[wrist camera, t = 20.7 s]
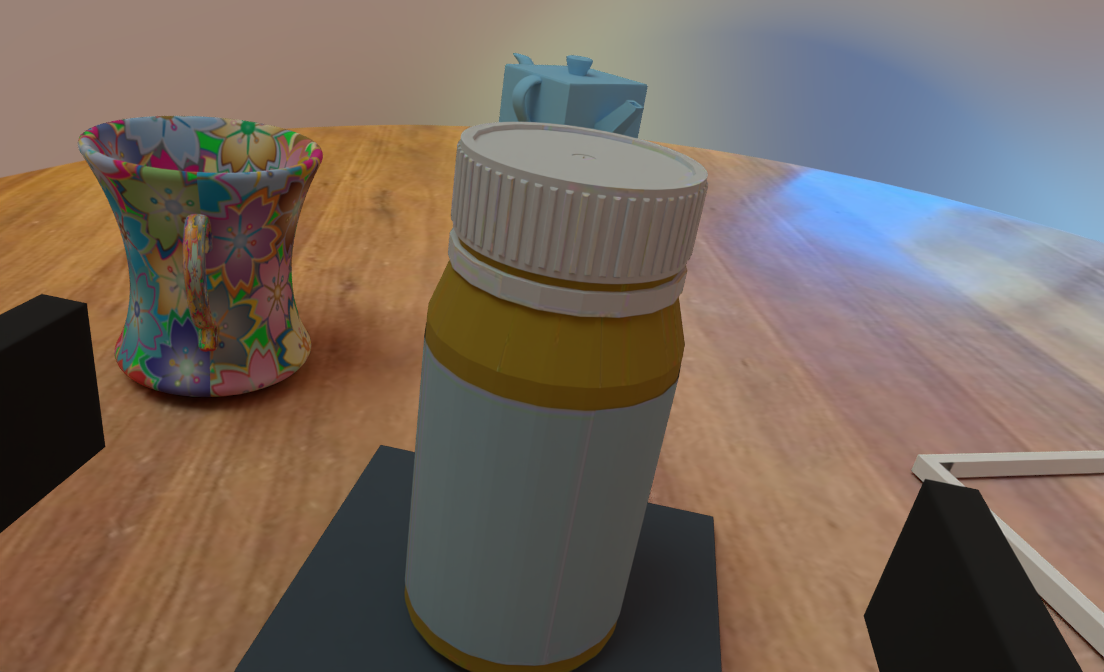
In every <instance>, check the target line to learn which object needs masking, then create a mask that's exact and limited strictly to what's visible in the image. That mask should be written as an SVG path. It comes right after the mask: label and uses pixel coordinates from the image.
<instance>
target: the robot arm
mask: <svg viewBox="0 0 1104 672" xmlns="http://www.w3.org/2000/svg"><path fill="white" fill-rule="evenodd" d="M104 447H105V441H104V433H103V425H102V418H101V410H100V402H99V394H98V387H97V379H96V371H95V363H94V356H93V348H92V340H91V332H90V325H89V317H88V309H87V303H82V302H78V301H73V300H68V299H63V298H58V297H54V296H49V295H44V294H41V295H39V296H37V297H35V298H33V299H31V300H29V301H27V302H25V303H23V304H21V305H19V306H17V307H15V308H13V309H11V310H9V311H7V312H5V313H3V314H1V315H0V533H1V532H2V531H3V530H5V529H6V528H7V527H8V526H10V525H11V524H12V523H13V522H14V521H16V520H17V519H18V518H19V517H20V516H22V515H23V514H24V513H25V512H27V511H28V510H29V509H30V508H31V507H33V506H34V505H35V504H36V503H38V502H39V501H40V500H41V499H42V498H44V497H45V496H46V495H47V494H48V493H50V492H51V491H52V490H53V489H55V488H56V487H57V486H58V485H59V484H61V483H62V482H63V481H64V480H66V479H67V478H68V477H69V476H70V475H72V474H73V473H74V472H75V471H76V470H78V469H79V468H80V467H81V466H83V465H84V464H85V463H86V462H87V461H89V460H90V459H91V458H92V457H94V456H95V455H96V454H97V453H98V452H100V451H101V450H102V449H103V448H104ZM864 619H865V622H866V626H867V629H868V633H869V636H870V640H871V643H872V647H873V650H874V654H875V657H876V661H877V665H878V668H879V672H1083V671H1082V670H1081V668H1080V666H1079V664H1078V663H1077V661H1076V659H1075V657H1074V656H1073V654H1072V652H1071V650H1070V649H1069V647H1068V645H1067V643H1066V642H1065V640H1064V638H1063V636H1062V635H1061V633H1060V631H1059V629H1058V628H1057V626H1056V624H1055V622H1054V621H1053V619H1052V617H1051V616H1050V614H1049V612H1048V610H1047V609H1046V607H1045V605H1044V603H1043V602H1042V600H1041V598H1040V596H1039V595H1038V593H1037V591H1036V589H1035V588H1034V586H1033V584H1032V582H1031V581H1030V579H1029V577H1028V575H1027V574H1026V572H1025V570H1024V568H1023V567H1022V565H1021V563H1020V562H1019V560H1018V558H1017V556H1016V555H1015V553H1014V551H1013V549H1012V548H1011V546H1010V544H1009V542H1008V541H1007V539H1006V537H1005V535H1004V534H1003V532H1002V530H1001V528H1000V527H999V525H998V523H997V521H996V520H995V518H994V516H993V514H992V513H991V511H990V509H989V508H988V506H987V504H986V502H985V501H984V499H983V497H982V495H981V494H980V492H979V490H977V489H972V488H967V487H963V486H958V485H953V484H948V483H944V482H939V481H934V480H929V479H925V480H924V482H923V484H922V486H921V489H920V491H919V493H918V495H917V498H916V500H915V502H914V504H913V507H912V509H911V511H910V513H909V516H908V518H907V520H906V522H905V525H904V527H903V529H902V531H901V533H900V536H899V538H898V540H897V542H896V545H895V547H894V549H893V551H892V554H891V556H890V558H889V560H888V563H887V565H886V567H885V569H884V571H883V574H882V576H881V578H880V580H879V583H878V585H877V587H876V589H875V592H874V594H873V596H872V598H871V601H870V603H869V605H868V607H867V609H866V612H865V614H864Z"/></svg>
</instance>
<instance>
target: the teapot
mask: <svg viewBox="0 0 1104 672" xmlns="http://www.w3.org/2000/svg"><path fill="white" fill-rule="evenodd" d="M513 55H514V56H515V57H516V59H517V60H518V62H519V64H506V66H505V73H504V82H503V90H502V99H501V109H500V117H499V122H537V123H551V124H561V125H569V126H577V127H583V128H590V129H596V130H601V131H606V132H611V133H616V134H621V135H625V136H629V137H633V138H637V139H638V133H639V128H640V123H641V118H642V113H643V109H644V102H645V97H646V92H647V85H646V84H643V83H640V82H636V81H633V80H629V79H626V78H622V77H618V76H615V75H612V74H608V73H605V72H601V71H597V70H594V69H590V67H591V65H592V62H593V60H592V59H590V58H586V57H581V56H574V55H570V56H567V65H568V66H557V65H534V64H533V62H532V60H531V59H530V58H529V57H527V56H524V55H521V54H517V53H513Z"/></svg>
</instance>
